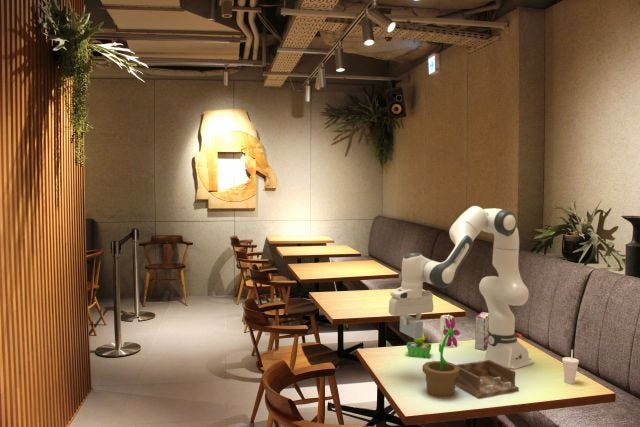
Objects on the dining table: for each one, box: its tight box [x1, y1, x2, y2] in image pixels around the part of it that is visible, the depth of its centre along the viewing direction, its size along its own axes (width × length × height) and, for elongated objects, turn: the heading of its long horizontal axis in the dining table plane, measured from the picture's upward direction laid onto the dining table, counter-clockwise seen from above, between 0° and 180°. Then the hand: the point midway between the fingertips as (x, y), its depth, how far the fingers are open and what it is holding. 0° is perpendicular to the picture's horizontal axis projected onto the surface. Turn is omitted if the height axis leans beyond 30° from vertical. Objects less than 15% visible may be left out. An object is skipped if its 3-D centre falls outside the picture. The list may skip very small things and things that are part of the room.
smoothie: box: [561, 349, 580, 385], centre depth 230 cm, size 6×6×14 cm
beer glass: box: [439, 314, 455, 349], centre depth 278 cm, size 7×7×15 cm
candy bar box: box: [474, 311, 489, 351], centre depth 277 cm, size 11×5×16 cm, turn 148°
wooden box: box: [455, 360, 520, 400], centre depth 224 cm, size 20×17×8 cm
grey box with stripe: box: [399, 315, 424, 340], centre depth 233 cm, size 12×4×7 cm, turn 24°
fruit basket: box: [406, 333, 433, 359], centre depth 263 cm, size 11×9×11 cm
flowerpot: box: [422, 317, 460, 398], centre depth 217 cm, size 14×14×30 cm
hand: (411, 324), depth 233 cm, fingers closed on grey box with stripe, 4 cm apart
